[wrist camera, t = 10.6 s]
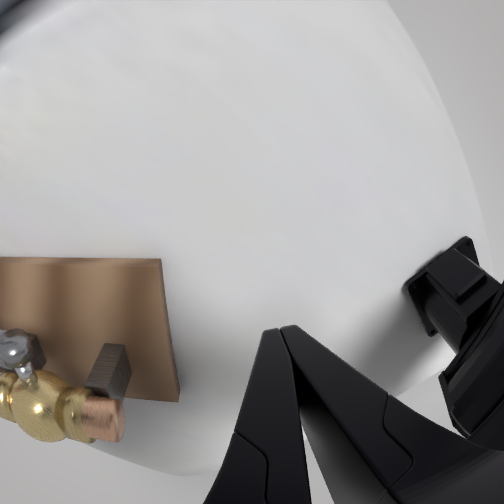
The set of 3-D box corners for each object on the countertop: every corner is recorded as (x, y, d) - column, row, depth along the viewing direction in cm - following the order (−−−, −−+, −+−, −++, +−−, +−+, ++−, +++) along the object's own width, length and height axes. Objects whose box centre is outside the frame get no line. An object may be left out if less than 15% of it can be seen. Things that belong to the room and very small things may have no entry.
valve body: (127, 315, 20) (84, 410, 12) (143, 383, 22) (119, 472, 14) (6, 304, 19) (-51, 370, 11) (31, 366, 22) (-9, 434, 14)
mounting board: (161, 258, 19) (156, 267, 18) (179, 391, 24) (178, 402, 23) (-17, 256, 19) (-25, 262, 18) (25, 369, 23) (20, 377, 22)
